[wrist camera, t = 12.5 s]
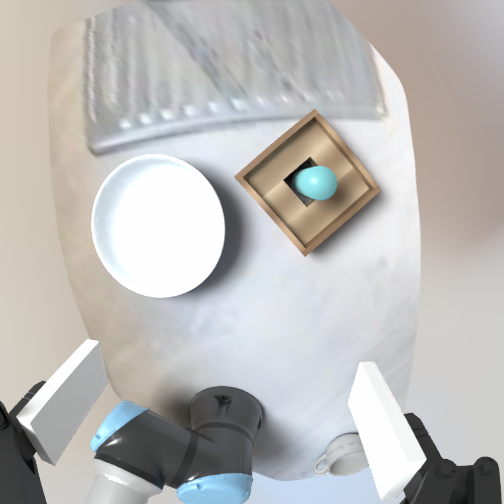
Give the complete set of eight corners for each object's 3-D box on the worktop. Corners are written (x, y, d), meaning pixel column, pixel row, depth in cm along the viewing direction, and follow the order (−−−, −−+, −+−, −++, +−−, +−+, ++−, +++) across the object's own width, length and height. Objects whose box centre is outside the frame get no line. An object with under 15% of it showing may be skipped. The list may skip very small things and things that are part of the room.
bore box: (366, 188, 44) (381, 190, 39) (299, 247, 47) (304, 256, 41) (308, 117, 42) (314, 108, 36) (237, 177, 45) (234, 176, 39)
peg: (316, 196, 45) (335, 201, 33) (291, 193, 45) (302, 198, 33) (318, 170, 44) (338, 167, 32) (292, 168, 44) (304, 164, 32)
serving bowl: (172, 130, 43) (158, 123, 36) (257, 229, 47) (256, 237, 40) (90, 216, 47) (68, 222, 40) (165, 305, 50) (153, 323, 44)
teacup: (367, 423, 57) (376, 447, 49) (364, 448, 59) (371, 471, 51) (308, 435, 57) (313, 461, 50) (310, 460, 60) (314, 483, 52)
